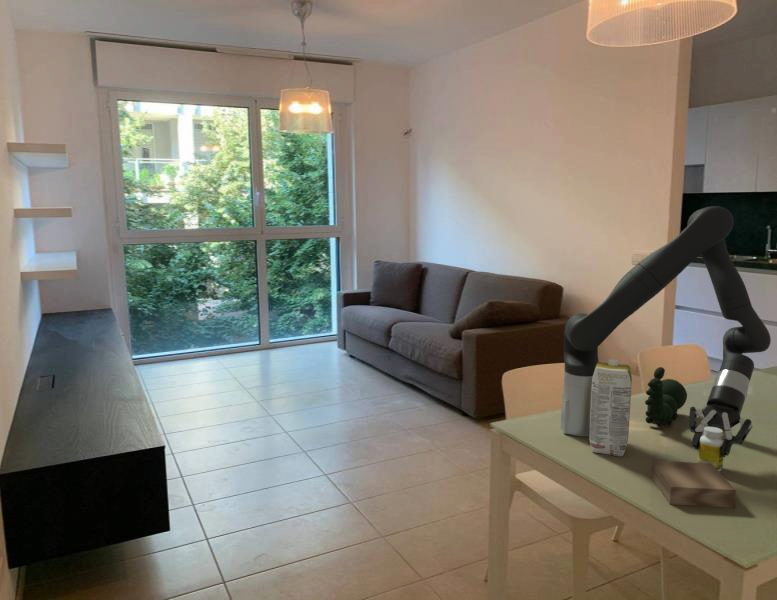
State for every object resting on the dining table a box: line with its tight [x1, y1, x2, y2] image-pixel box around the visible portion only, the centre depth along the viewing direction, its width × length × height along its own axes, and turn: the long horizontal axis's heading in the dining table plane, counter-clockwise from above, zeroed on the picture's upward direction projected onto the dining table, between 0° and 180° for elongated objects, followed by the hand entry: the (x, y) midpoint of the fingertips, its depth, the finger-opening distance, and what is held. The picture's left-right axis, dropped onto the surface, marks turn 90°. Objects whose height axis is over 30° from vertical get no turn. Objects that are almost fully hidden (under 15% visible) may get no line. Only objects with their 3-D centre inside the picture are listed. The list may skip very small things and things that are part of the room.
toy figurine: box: [644, 366, 688, 427], centre depth 174 cm, size 9×19×25 cm
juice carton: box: [589, 358, 633, 457], centre depth 152 cm, size 9×8×24 cm
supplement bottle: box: [696, 427, 725, 472], centre depth 143 cm, size 5×5×10 cm
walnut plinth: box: [650, 460, 737, 509], centre depth 132 cm, size 13×13×4 cm
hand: (708, 451), depth 142 cm, fingers closed on supplement bottle, 5 cm apart
